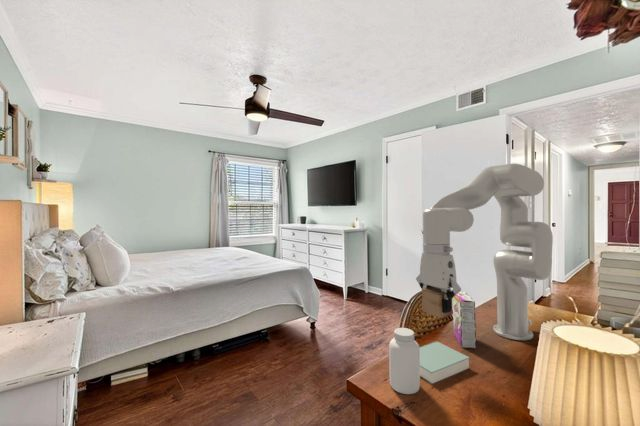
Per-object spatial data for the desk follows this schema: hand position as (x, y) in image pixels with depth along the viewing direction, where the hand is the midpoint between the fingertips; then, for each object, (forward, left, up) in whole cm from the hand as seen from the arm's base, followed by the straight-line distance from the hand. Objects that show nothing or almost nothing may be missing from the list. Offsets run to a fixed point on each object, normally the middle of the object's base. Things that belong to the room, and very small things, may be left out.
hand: (437, 308), depth 86 cm
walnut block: (0, 0, -1) cm, 1 cm away
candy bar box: (-21, -7, -18) cm, 29 cm away
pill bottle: (+16, +2, -18) cm, 24 cm away
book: (+1, -1, -18) cm, 18 cm away
